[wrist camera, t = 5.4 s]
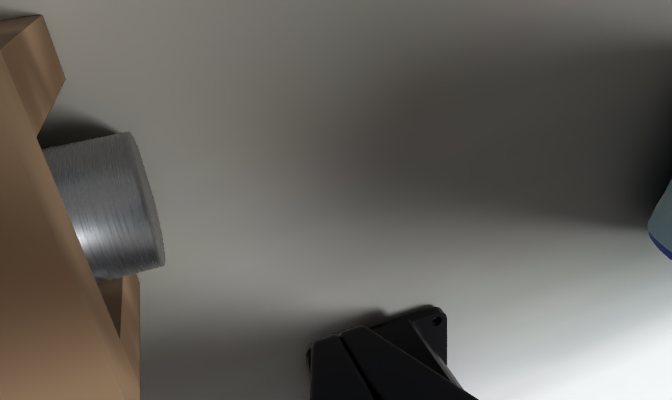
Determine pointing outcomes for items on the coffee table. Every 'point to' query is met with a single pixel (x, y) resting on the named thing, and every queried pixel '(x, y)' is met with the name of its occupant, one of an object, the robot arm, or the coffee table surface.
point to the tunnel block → (51, 253)
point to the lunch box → (662, 223)
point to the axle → (109, 204)
